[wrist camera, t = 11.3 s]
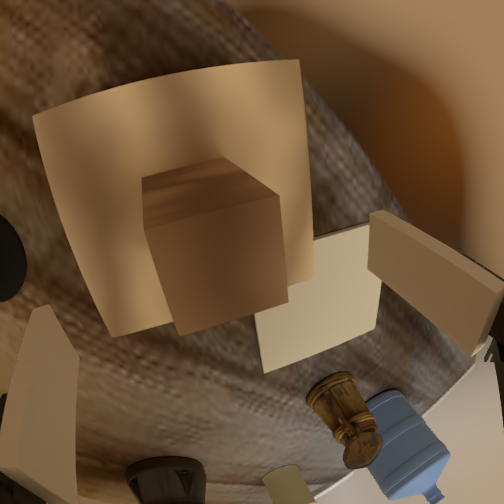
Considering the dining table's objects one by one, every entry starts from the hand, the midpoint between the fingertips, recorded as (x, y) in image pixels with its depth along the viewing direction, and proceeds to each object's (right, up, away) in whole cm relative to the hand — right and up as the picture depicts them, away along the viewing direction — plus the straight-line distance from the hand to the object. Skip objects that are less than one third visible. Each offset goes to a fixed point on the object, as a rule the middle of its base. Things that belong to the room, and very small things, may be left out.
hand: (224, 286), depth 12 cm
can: (+8, -52, +51) cm, 73 cm away
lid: (-3, +5, +8) cm, 10 cm away
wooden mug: (+13, -21, +37) cm, 45 cm away
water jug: (+28, -34, +50) cm, 67 cm away
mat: (+10, -5, +27) cm, 30 cm away
